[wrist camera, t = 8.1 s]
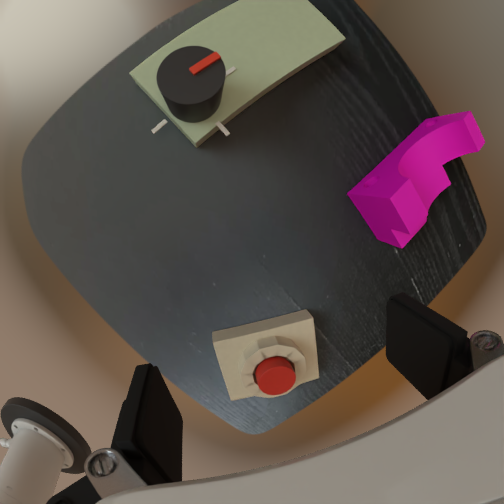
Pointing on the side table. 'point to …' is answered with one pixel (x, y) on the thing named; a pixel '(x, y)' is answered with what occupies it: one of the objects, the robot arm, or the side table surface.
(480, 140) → the toy block
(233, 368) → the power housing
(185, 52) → the timer dial
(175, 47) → the dial panel
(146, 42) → the side table surface
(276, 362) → the power button
